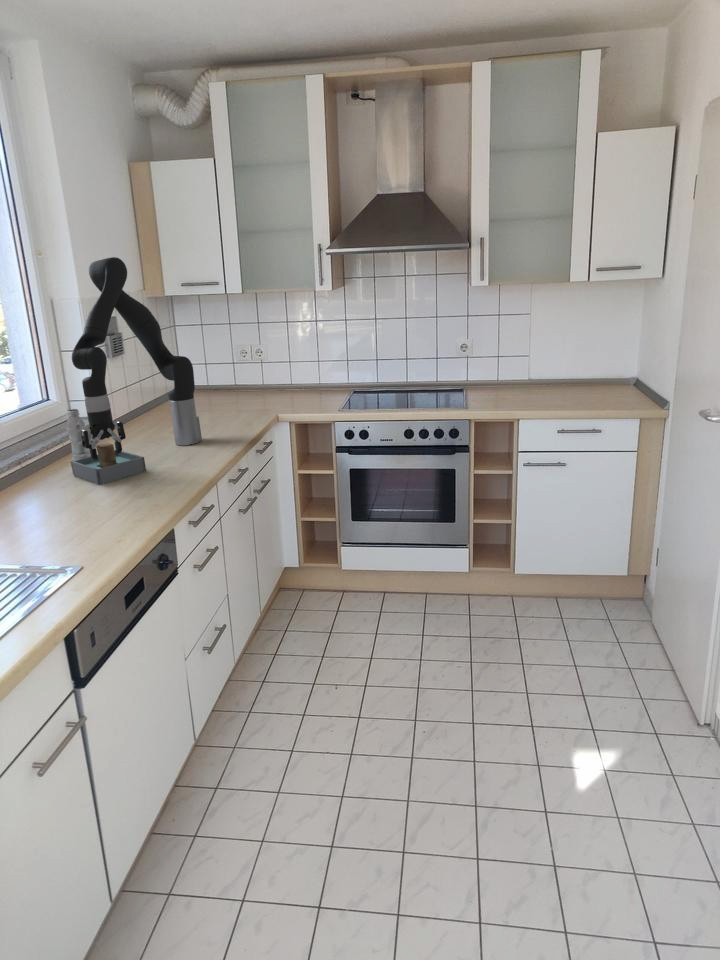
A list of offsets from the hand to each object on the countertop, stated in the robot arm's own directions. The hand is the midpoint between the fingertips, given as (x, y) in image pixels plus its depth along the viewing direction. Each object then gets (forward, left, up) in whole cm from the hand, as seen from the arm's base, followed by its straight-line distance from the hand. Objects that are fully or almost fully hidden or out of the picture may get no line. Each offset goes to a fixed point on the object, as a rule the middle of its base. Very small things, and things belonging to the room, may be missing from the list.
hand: (107, 456), depth 236 cm
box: (0, 0, -6) cm, 6 cm away
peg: (0, 0, -6) cm, 6 cm away
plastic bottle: (+1, -18, -6) cm, 19 cm away
